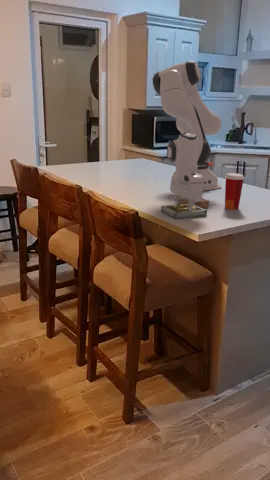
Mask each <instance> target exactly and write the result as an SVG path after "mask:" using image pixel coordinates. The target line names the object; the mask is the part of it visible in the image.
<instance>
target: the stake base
mask: <svg viewBox="0 0 270 480" xmlns="http://www.w3.org/2000/svg"><path fill="white" fill-rule="evenodd" d="M180 201H181V204H189V200H188V199H186V198H183V197H181V196H180ZM209 204H210V200H208V199H205V198H203V197H202V198H201V200H200V201H199V202H195V204H194V205H196V206H198V207H201V208H203V209H205V208H206V209H207V208H209V207H210V205H209Z"/></svg>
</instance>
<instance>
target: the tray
mask: <svg viewBox="0 0 270 480" xmlns="http://www.w3.org/2000/svg"><path fill="white" fill-rule="evenodd" d="M174 205H175V204H171V205H170V204H168V205H161V207H160V208H161V212H162V213H163V214H165V215H167V216H168V217H171V218H172V219H175V220H179V219H181V220H182V219H190V218H200V217H207V216H208V210H207V209H205V208H201V207H198V206H196V205H194V207H196V208H197V211H186V212H175V211H173V210H171V207H172V206H174ZM181 205H185V204H181Z"/></svg>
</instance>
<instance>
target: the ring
mask: <svg viewBox="0 0 270 480" xmlns="http://www.w3.org/2000/svg"><path fill="white" fill-rule="evenodd" d="M173 205H174V206H172V207H171V210H173V211H175V212H186V211H189V210H187V206H189V204H185V205H177V204H173ZM192 211H197V208H196V207H194V206H193V210H192Z"/></svg>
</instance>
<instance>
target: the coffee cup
mask: <svg viewBox="0 0 270 480" xmlns="http://www.w3.org/2000/svg"><path fill="white" fill-rule="evenodd" d="M224 178H225V187H224V188H225V189H224V190H225V192H224V194H225V195H224V208H225V209H227V210H234V211H235V210H236V211H237V210H239V207H240V201H241V197H242V192H243V191H242V190H243V184H244V179H245V176H244V175H243V174H242V173H235V172H234V173H233V172H228V173H226V175H225V177H224Z"/></svg>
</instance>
